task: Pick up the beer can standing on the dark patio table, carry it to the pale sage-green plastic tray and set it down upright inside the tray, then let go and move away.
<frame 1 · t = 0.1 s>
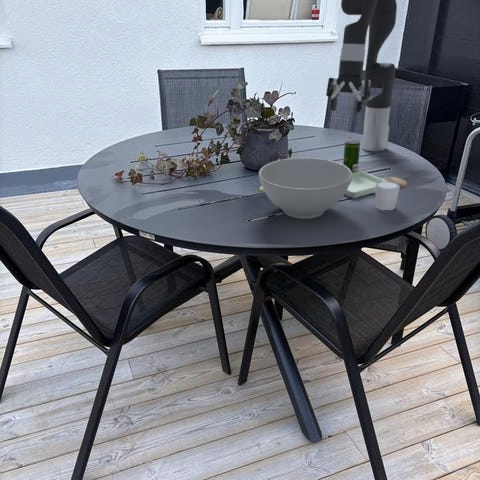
hand: (345, 111, 153), 22 cm above the table, tool pointing down, fingers open, 8 cm apart
white cup: (384, 207, 139), on the table
tray: (357, 186, 154), on the table
oak coaster: (392, 183, 155), on the table
beer can: (350, 171, 167), on the table
decorative bowl: (303, 210, 138), on the table
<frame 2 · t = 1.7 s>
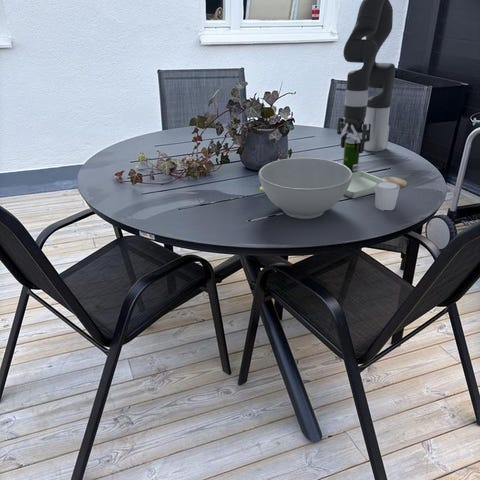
hand: (351, 150, 163), 8 cm above the table, tool pointing down, fingers open, 8 cm apart
nothing on the table moved.
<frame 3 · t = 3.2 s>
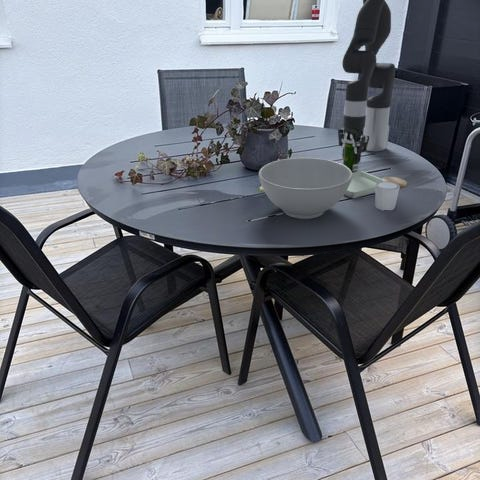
hand: (350, 160, 165), 4 cm above the table, tool pointing down, fingers closed on beer can, 5 cm apart
beer can: (350, 171, 167), on the table, touching gripper
everything else where it was.
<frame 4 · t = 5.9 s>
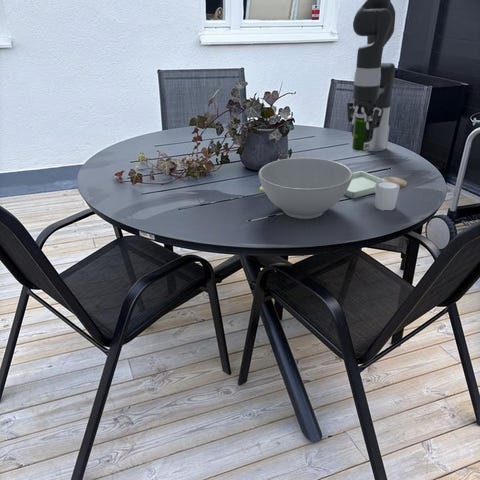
hand: (361, 138, 146), 16 cm above the table, tool pointing down, fingers closed on beer can, 5 cm apart
beer can: (360, 151, 148), point 12 cm above the table, touching gripper
everything else where it was.
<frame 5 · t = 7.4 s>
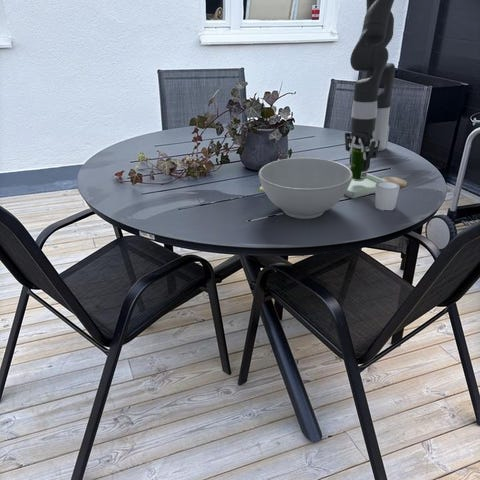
hand: (359, 167, 150), 7 cm above the table, tool pointing down, fingers closed on beer can, 5 cm apart
beer can: (357, 179, 152), point 3 cm above the table, touching gripper
everything else where it was.
when the fingers open (6 cm above the table, at t = 8.6 s): beer can drops 1 cm, resting on tray.
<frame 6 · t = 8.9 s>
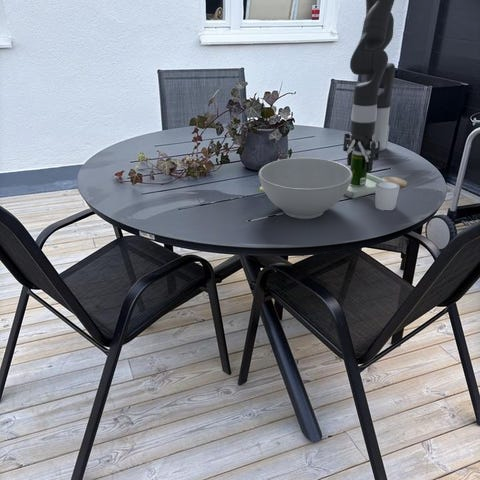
hand: (358, 168, 151), 6 cm above the table, tool pointing down, fingers open, 8 cm apart
beer can: (357, 185, 154), resting on tray
everything else where it was.
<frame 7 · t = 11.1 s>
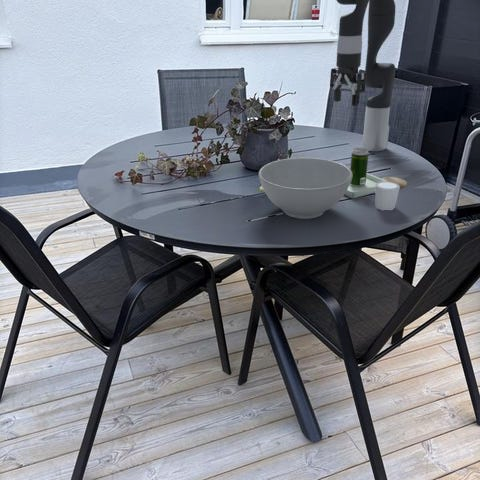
hand: (345, 103, 152), 25 cm above the table, tool pointing down, fingers open, 8 cm apart
nothing on the table moved.
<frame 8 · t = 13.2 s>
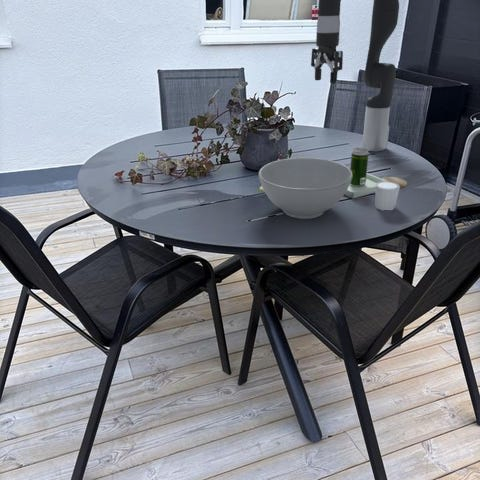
hand: (325, 81, 161), 30 cm above the table, tool pointing down, fingers open, 8 cm apart
nothing on the table moved.
at the end: beer can inside the target area on the tray (0.2 cm from its centre), point 0.4 cm above the tray's base; beer can tilted 0°; the gripper is holding nothing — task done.
